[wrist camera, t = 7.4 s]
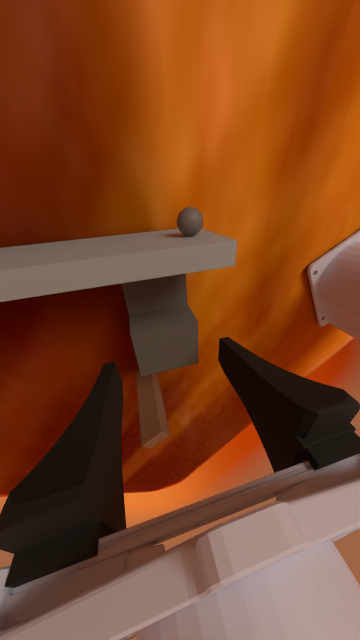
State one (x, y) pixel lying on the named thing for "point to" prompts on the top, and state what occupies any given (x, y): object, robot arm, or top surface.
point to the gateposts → (151, 410)
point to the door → (113, 259)
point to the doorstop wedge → (161, 324)
